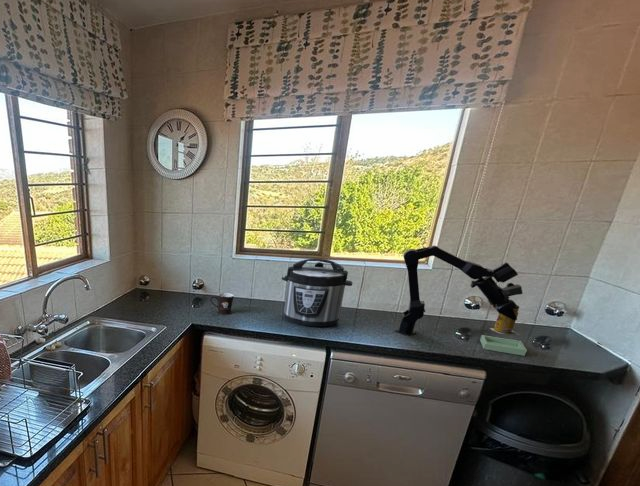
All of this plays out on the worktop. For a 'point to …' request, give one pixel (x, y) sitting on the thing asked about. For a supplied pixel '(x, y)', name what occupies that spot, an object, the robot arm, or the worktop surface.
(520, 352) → the tray
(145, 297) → the worktop surface
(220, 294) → the coffee mug
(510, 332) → the condiment
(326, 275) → the pressure cooker
